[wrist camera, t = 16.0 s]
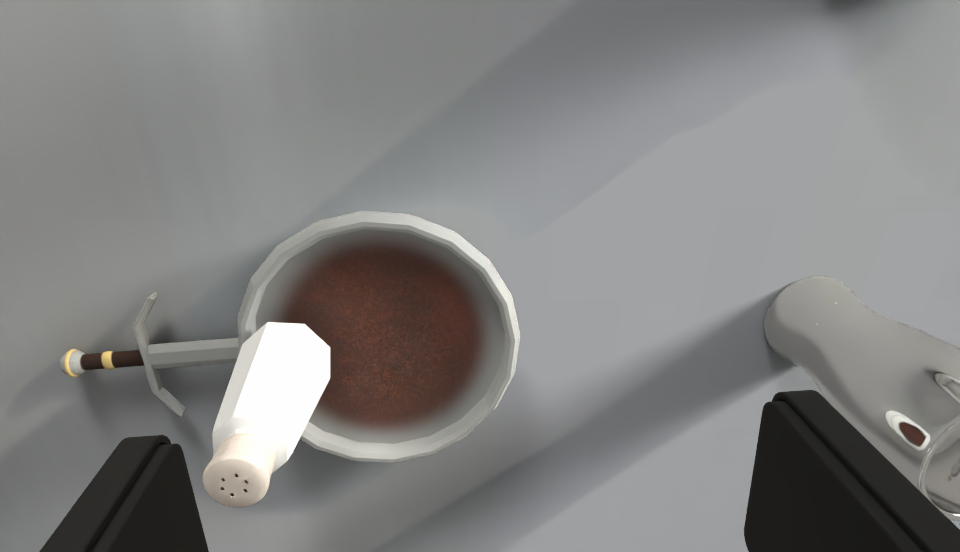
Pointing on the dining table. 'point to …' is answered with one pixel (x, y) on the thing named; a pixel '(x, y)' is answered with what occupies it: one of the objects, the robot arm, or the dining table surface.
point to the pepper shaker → (265, 410)
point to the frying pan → (369, 333)
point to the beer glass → (878, 380)
